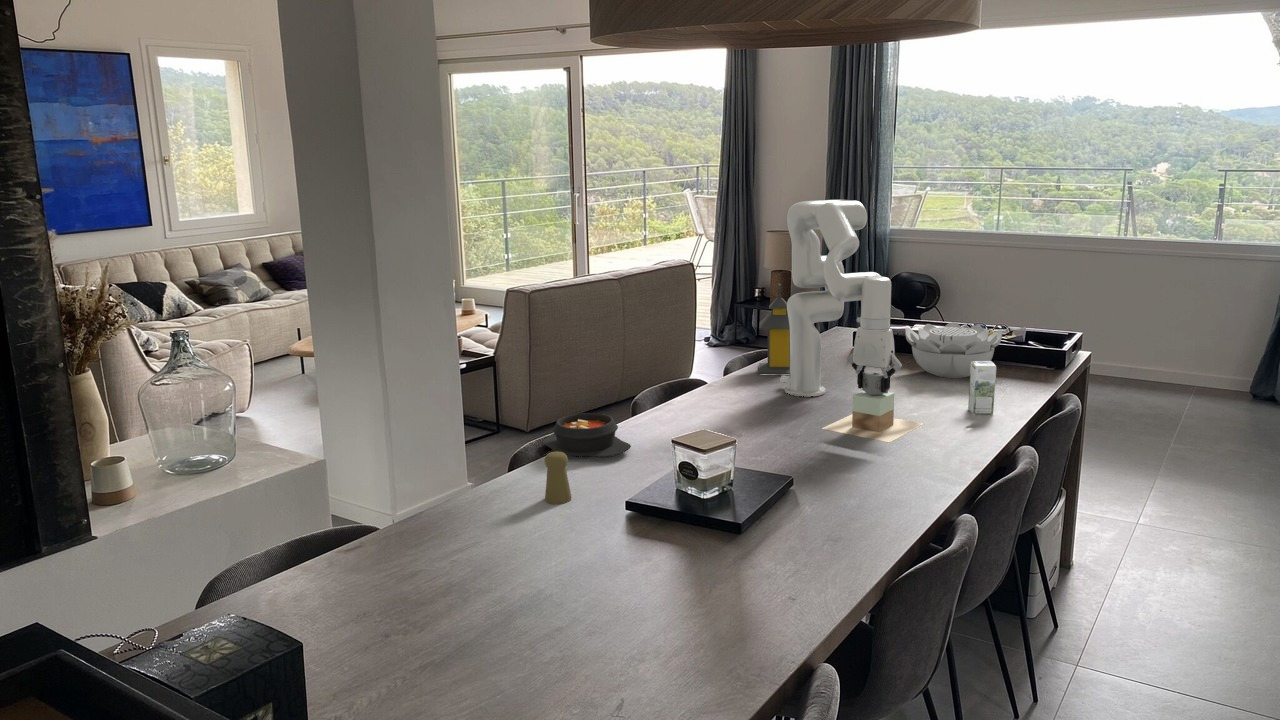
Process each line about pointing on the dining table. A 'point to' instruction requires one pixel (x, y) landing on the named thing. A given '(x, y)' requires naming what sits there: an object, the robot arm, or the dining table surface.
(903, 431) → the oak board
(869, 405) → the sage block
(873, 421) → the walnut block
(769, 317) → the lantern
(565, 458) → the olive peg figure
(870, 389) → the dice cube
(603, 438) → the casserole
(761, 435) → the dining table surface
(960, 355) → the decorative bowl
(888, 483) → the dining table surface
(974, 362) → the syrup box
